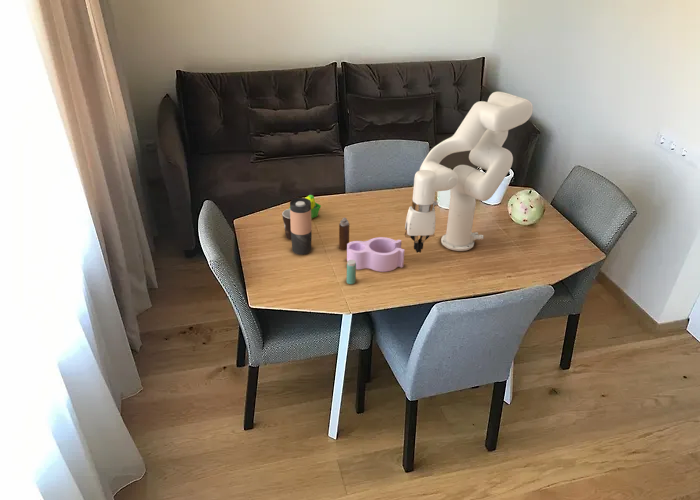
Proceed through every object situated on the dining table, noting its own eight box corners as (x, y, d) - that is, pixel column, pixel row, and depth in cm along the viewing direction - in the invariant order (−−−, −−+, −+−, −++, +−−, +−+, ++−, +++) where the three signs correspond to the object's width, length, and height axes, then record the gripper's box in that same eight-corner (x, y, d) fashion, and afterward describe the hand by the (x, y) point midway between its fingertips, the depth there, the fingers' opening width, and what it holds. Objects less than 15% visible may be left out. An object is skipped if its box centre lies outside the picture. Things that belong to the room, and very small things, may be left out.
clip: (349, 272, 208) (349, 256, 204) (345, 254, 219) (346, 238, 215) (404, 270, 210) (406, 254, 206) (398, 252, 221) (400, 236, 217)
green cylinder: (355, 278, 205) (355, 258, 201) (356, 284, 202) (356, 264, 198) (345, 279, 205) (346, 259, 200) (346, 284, 202) (347, 264, 198)
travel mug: (315, 247, 222) (314, 200, 212) (305, 257, 217) (304, 208, 206) (297, 242, 225) (296, 195, 215) (287, 252, 219) (285, 204, 209)
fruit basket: (310, 210, 248) (309, 185, 243) (323, 217, 243) (323, 192, 237) (288, 218, 242) (287, 193, 236) (302, 226, 236) (301, 201, 230)
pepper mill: (348, 244, 225) (349, 215, 218) (349, 249, 222) (350, 220, 215) (338, 245, 224) (338, 215, 218) (339, 250, 221) (339, 220, 215)
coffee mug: (301, 242, 225) (301, 219, 220) (280, 240, 227) (279, 217, 221) (309, 228, 235) (309, 206, 230) (288, 225, 236) (288, 203, 231)
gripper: (441, 200, 208) (435, 244, 218) (399, 201, 206) (395, 246, 216) (446, 209, 202) (440, 255, 211) (403, 210, 200) (399, 256, 209)
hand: (417, 250), depth 213 cm, fingers closed
